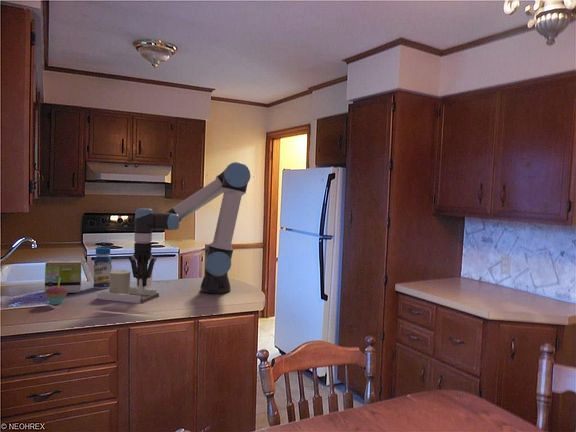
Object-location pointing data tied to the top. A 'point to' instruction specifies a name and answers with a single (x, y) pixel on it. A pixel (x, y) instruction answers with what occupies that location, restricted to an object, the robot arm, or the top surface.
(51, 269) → the tea box
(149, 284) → the white cup
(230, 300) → the top surface
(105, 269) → the beverage bottle
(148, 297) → the trap pocket
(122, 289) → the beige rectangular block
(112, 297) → the tube channel
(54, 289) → the cupcake
